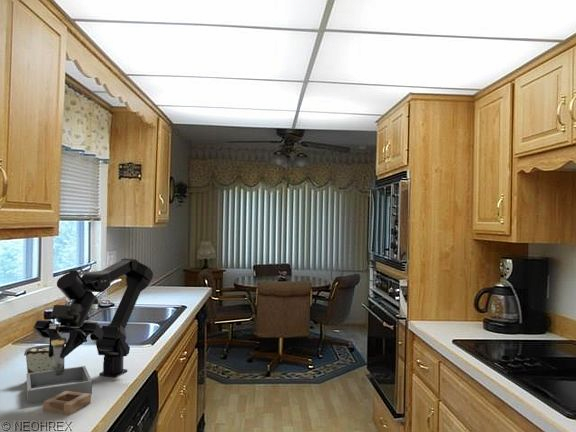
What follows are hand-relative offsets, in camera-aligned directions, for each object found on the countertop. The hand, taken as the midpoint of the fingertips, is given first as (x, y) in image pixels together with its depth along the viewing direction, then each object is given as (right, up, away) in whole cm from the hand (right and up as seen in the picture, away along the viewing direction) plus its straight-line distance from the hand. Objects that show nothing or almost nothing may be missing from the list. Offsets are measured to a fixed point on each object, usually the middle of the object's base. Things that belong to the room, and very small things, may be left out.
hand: (55, 357), depth 129 cm
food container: (-13, -13, +22) cm, 29 cm away
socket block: (+5, -13, -5) cm, 15 cm away
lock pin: (0, -5, +1) cm, 5 cm away
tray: (-3, -13, +8) cm, 16 cm away
